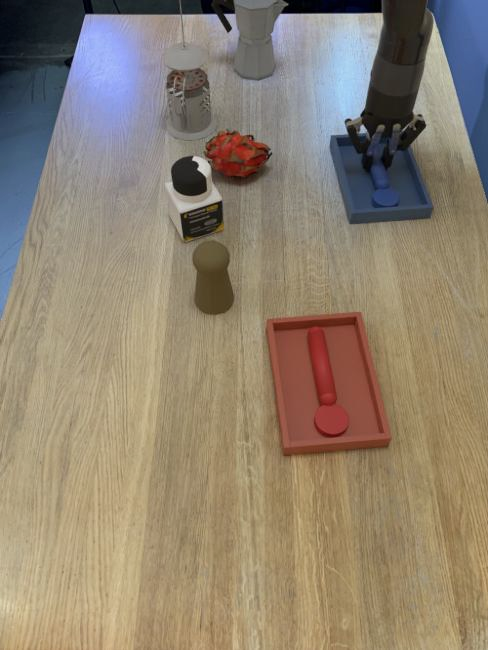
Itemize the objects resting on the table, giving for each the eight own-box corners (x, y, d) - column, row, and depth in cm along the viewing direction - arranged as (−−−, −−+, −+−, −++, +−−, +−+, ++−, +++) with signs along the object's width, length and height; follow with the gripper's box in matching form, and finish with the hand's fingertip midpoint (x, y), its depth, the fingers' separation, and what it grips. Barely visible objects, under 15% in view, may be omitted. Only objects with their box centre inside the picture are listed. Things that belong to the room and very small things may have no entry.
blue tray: (402, 141, 111) (405, 130, 109) (430, 218, 100) (434, 207, 98) (329, 146, 110) (330, 135, 108) (349, 224, 99) (351, 213, 97)
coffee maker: (288, 59, 126) (294, -31, 111) (280, 84, 121) (285, -7, 106) (220, 51, 128) (216, -39, 113) (209, 74, 123) (203, -16, 108)
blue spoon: (355, 147, 109) (357, 136, 107) (379, 145, 109) (381, 134, 107) (374, 212, 100) (377, 201, 98) (400, 210, 100) (404, 199, 98)
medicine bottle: (183, 243, 97) (176, 188, 87) (168, 214, 101) (159, 158, 91) (224, 230, 98) (221, 174, 89) (208, 202, 102) (203, 145, 92)
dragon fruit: (200, 174, 108) (265, 181, 110) (200, 179, 100) (271, 187, 102) (204, 125, 106) (271, 133, 107) (205, 126, 98) (278, 135, 99)
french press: (221, 110, 116) (215, -25, 96) (209, 149, 110) (200, 14, 89) (172, 105, 117) (156, -30, 97) (157, 143, 111) (136, 8, 90)
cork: (206, 277, 93) (201, 228, 84) (241, 291, 91) (240, 242, 82) (187, 305, 90) (180, 257, 81) (222, 320, 88) (219, 273, 79)
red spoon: (298, 333, 86) (299, 324, 84) (328, 331, 87) (330, 321, 85) (316, 439, 77) (318, 431, 75) (350, 436, 77) (353, 428, 75)
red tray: (358, 321, 88) (360, 311, 86) (388, 446, 77) (391, 438, 75) (266, 328, 87) (266, 318, 85) (283, 455, 76) (284, 447, 74)
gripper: (354, 97, 88) (339, 185, 103) (447, 91, 89) (419, 180, 103) (345, 67, 93) (332, 156, 107) (433, 62, 93) (408, 151, 108)
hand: (375, 167), depth 105 cm, fingers closed on blue spoon, 2 cm apart
